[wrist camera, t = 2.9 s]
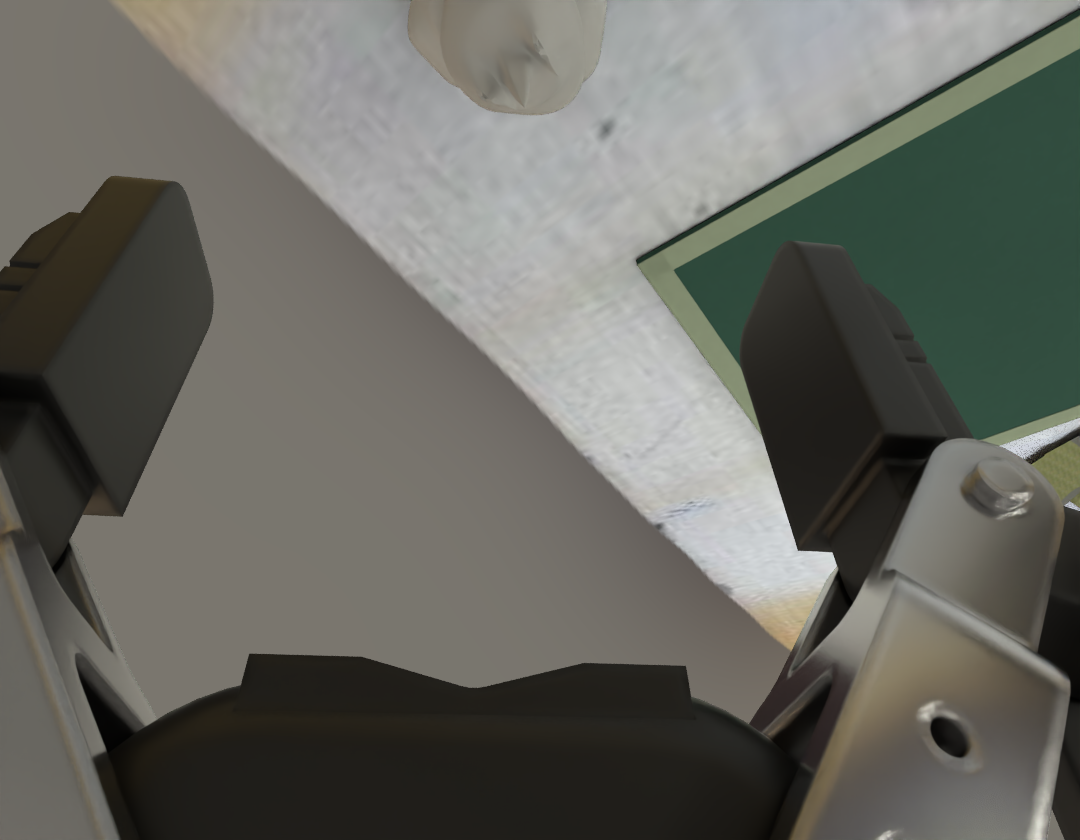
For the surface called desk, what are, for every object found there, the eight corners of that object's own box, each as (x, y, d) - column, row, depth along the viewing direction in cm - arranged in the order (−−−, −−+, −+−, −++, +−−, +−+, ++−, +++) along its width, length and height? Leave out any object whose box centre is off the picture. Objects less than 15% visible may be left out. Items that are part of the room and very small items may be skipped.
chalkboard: (635, 259, 26) (637, 265, 26) (1312, -124, 18) (1322, -120, 18) (814, 504, 39) (816, 509, 38) (1267, 345, 30) (1272, 350, 30)
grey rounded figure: (510, 108, 22) (506, 256, 17) (340, -80, 18) (264, 33, 13) (653, -20, 19) (701, 108, 14) (489, -270, 16) (470, -226, 10)
